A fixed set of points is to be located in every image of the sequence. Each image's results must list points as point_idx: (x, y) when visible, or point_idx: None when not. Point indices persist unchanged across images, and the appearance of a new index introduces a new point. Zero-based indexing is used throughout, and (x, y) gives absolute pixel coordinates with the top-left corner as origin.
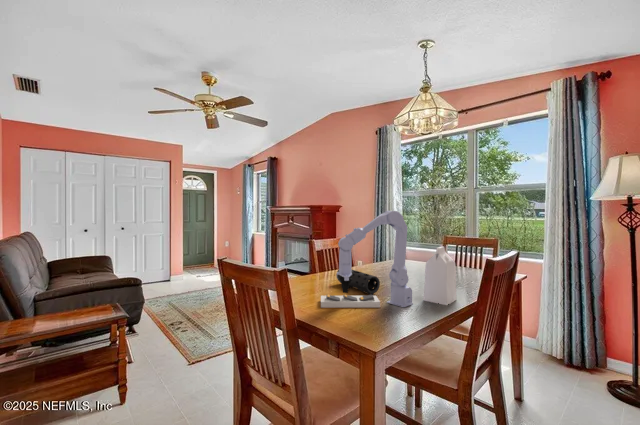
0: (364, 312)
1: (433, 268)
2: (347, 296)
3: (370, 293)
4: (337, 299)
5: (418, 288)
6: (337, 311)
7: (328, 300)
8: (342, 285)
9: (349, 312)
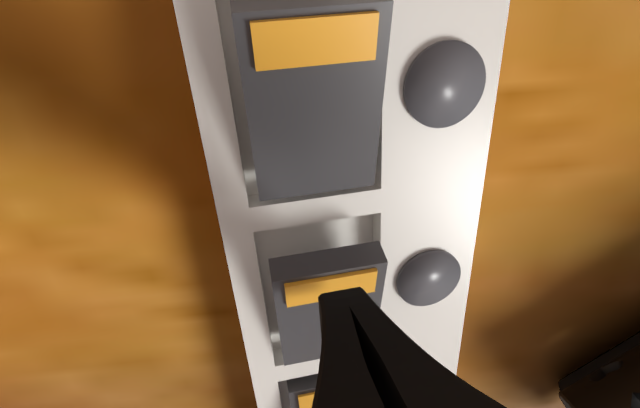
0: (123, 382)
1: None
2: None
3: (576, 379)
4: (261, 178)
5: None
6: (66, 158)
7: None
8: (316, 395)
9: (77, 277)
